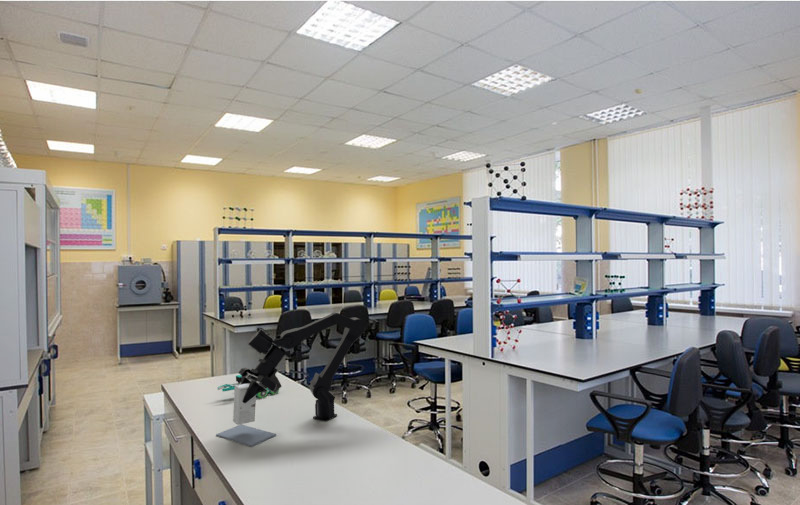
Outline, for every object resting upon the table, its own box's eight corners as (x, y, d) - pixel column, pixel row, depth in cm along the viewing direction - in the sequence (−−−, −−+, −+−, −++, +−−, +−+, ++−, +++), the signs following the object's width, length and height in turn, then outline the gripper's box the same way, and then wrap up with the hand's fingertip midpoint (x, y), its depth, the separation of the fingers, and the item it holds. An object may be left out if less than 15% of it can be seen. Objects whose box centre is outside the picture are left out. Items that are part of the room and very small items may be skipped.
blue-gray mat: (276, 435, 147) (276, 433, 147) (251, 446, 139) (251, 445, 139) (241, 425, 157) (241, 424, 157) (216, 435, 149) (216, 434, 149)
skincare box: (237, 425, 145) (239, 388, 145) (232, 421, 149) (233, 385, 149) (255, 421, 149) (257, 385, 149) (250, 417, 153) (251, 382, 153)
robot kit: (210, 399, 190) (210, 377, 190) (261, 385, 209) (261, 365, 209) (234, 407, 178) (233, 384, 178) (285, 391, 197) (285, 370, 198)
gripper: (299, 379, 153) (270, 420, 145) (273, 370, 166) (246, 407, 159) (276, 360, 147) (245, 402, 140) (252, 353, 161) (223, 390, 154)
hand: (240, 401), depth 148 cm, fingers closed on skincare box, 4 cm apart
